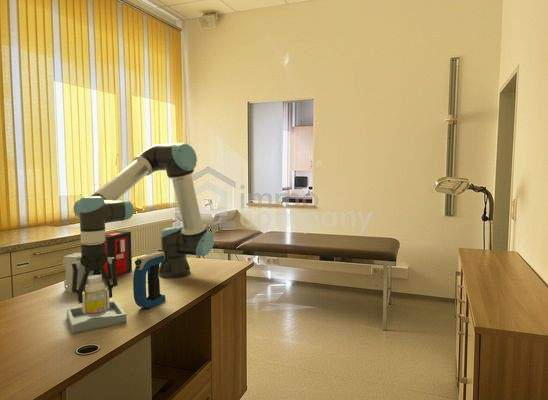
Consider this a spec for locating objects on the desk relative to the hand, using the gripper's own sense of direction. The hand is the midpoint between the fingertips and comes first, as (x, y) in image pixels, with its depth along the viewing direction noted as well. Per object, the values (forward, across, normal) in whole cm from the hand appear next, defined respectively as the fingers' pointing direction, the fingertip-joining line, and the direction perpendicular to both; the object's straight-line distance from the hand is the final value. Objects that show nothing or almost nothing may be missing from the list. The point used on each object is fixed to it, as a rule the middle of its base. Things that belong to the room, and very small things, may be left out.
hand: (96, 309), depth 127 cm
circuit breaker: (+4, -2, -38) cm, 38 cm away
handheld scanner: (+4, -20, -4) cm, 21 cm away
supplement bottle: (+2, 0, 0) cm, 2 cm away
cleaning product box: (+4, -17, -57) cm, 59 cm away
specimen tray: (+4, 0, 0) cm, 4 cm away
